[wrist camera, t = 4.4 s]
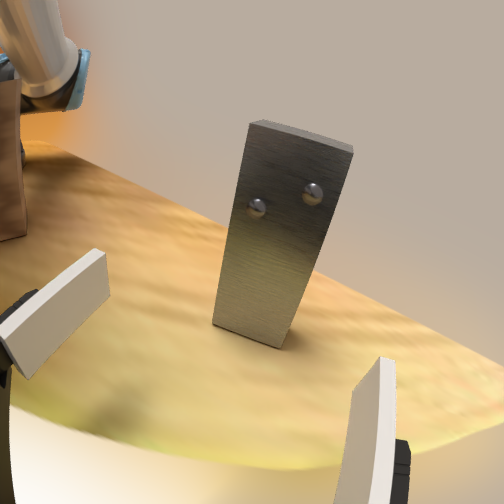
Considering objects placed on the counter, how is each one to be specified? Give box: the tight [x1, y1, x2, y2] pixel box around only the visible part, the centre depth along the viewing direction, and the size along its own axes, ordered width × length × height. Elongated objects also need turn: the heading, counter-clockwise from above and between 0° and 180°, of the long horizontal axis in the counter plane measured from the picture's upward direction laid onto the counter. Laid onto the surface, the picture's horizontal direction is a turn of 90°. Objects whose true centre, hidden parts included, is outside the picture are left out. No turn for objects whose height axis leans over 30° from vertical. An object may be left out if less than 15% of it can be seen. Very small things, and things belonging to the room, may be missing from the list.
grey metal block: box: [212, 120, 354, 349], centre depth 21 cm, size 4×6×16 cm, turn 72°
